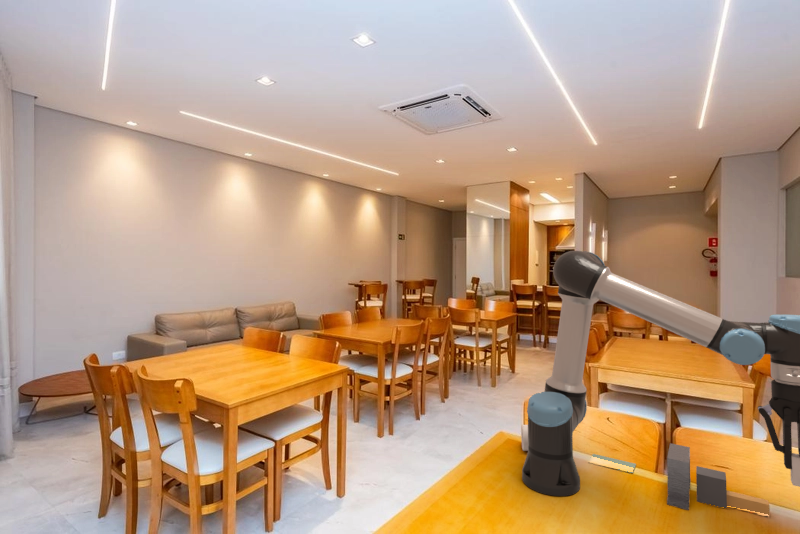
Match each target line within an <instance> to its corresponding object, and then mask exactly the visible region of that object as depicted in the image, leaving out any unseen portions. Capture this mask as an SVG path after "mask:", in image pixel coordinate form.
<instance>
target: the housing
mask: <svg viewBox="0 0 800 534" xmlns="http://www.w3.org/2000/svg"><path fill="white" fill-rule="evenodd" d="M690 449H691V447H690V446H685V445H680V444H677V443H676V444H675V443H671V442H670V443H669V448H668V451H667V458H666V459H667V463H666V464H667V465H666V466H667V473H666V474H667V498H666V505H668V506H672V507H674V508H675V507H676V508H679V509H682V510H686V511H689V510H690V490H691V482H692V481H691V451H690Z"/></svg>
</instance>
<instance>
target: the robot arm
mask: <svg viewBox="0 0 800 534" xmlns="http://www.w3.org/2000/svg"><path fill="white" fill-rule="evenodd" d="M552 269H553V270H552V273H553V277H554V280H555V282H556V284H557V285H558V291H557V294H558V296H559V298H561V308H560V315H559V323H558V331H557V337H556V343H555V344H556V345H555V352H554V358H553V365H552V366H553V367H552V374H551V376H550V377H548V378H547V379H546V380H545V383H544V384H545V385H544V391H542V392H537V393H533V395H531V396H530V398H529V399H528V401H527V408H526V409H527V410H526V412H527V425H528V451H527V453H526V456H525V460H524V463H523V466H522V469H521V477H522V478H521V479H522V482H523V483H524V484H525V485H526V486H527V488H530V489H531V490H533V491H535V492H537V493H539V494H540V493H541V494H543V495H547V496H554V497H566V496H567V497H568V496H571V495H574V494H576V493H578V492H579V491H580V489H581V478H580V475H579V471H578V469H577V465H576V463H575V460H574V454H573V453H574V450H573V449H574V448H573V445H574V444H573V443H574V442H573V439H574V438H573V433H574V431H575V430H576V428H577V427H578V426H579V424H581V422H582V421H583V420H584V418H585V417H586V414H587V411H588V410H587V409H588V407H587V400H586V396H587V392H588V391H587V387H586V385H584V383H583V378H584V371H585V363H586V358H587V357H586V356H587V351H588V350H587V349H588V343H589V335H590V331H591V322H592V317H593V316H592V315H593V308H594V304H596V303H597V302H599V301H602V302H603V303H606V304H609V305H611V306H613V307H616V308H617V309H620V310H622V311H625V312H626V313H628V314H631V315H634V316H635V317H638V318H640V319H642V320H645V321H646V322H649V323H652V324H653V325H656V326H658V327H660V328H662V329H664V330H667V331H668V332H671V333H674V334H676V335H678V336H680V337H683V338H685V339H686V340H689V341H692V342H693V343H696V344H698V345H700V346H702V347H705V348H707V349H709V350H711V351H713V352H715V353H717V354H719V355H722V356H723V357H725V359H726V360H728V361H730V362H731V363H734V364H737V365H740V366H741V365H742V366H749V365H754V364H756V363H758V362H759V361H761V360H762V359H763V357H764V356H765V355H770V377H771V378H772V380H771V381H770V383H771V385H770V386H771V387H770V388H771V398H770V400H769V401H768V404H766V405H763V406H762V405H759V406H758V407H757V410H758V413H759V414H761V416H762V417H763V419H764V421H765V424H766V427H767V431H768V433H769V436H770V439H771V444H772V445H773V448H774V450H776V452H777V451H778V452H780V453H782V454H783V464H784V466H785V469H789V470H790V481H791V484H792V486H795V487H800V314H782V313H781V314H779V313H778V314H777V313H776V314H771V315H770V316H769V317H768V321H765V322H751V321H750V322H748V321H730V320H726V319H725V318H722V317H720V316H717V315H715V314H712V313H710V312H709V311H708V312H707V311H705V310H703V309H700V308H698V307H695V306H693V305H690V304H688V303H685V302H684V301H682V300H681V301H680V300H678V299H676V298H674V297H671V296H668V295H666V294H664V293H662V292H659V291H656V290H654V289H652V288H649V287H647V286H645V285H642V284H640V283H637V282H635V281H632V280H630V279H627V278H625V277H623V276H620V275H618V274H615V273H613V272H612V271H611V269H610V267H609V266H608V265H605V263H604V261H603V260H602V258H600V257H599V255H597V254H595V253H593V252H590V251H587V250H584V251H582V250H570V251H566V252H565V253H562V254H561V255H560V256H559V257H558V258H557V259H556V260H555V262H554V265H553V267H552ZM772 410H773V411H774V412H775V414H776V415H777V416H778V417H779V418H780V419H781V420H782V444H780V440H779V437H778V435H777V432H776V431H777V430H776V429H775V426H774V423H773V420H772V418H771V415H772V414H773V413H772ZM792 423H796V425H797V450H798V451H797V452H798V453H794V452H793V449H792V448H793V445H792V444H793V443H792V442H793V441H792Z"/></svg>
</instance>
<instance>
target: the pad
mask: <svg viewBox="0 0 800 534" xmlns="http://www.w3.org/2000/svg"><path fill="white" fill-rule="evenodd" d="M591 456H593V457H597V458H600V459H604V460H608V461H612V462H614V463H618V464H622V465H626V466H629V467H633V468H635V469H636V466H637V463H634V462H629V461H626V460H620V459H618V458H613V457H608V456H604V455H600V454H597V453H592V454H591ZM618 470H620V469H618ZM618 470H617V471H618ZM627 472H628V471H627ZM630 473H633V474H634V472H630ZM630 473H629V474H630Z"/></svg>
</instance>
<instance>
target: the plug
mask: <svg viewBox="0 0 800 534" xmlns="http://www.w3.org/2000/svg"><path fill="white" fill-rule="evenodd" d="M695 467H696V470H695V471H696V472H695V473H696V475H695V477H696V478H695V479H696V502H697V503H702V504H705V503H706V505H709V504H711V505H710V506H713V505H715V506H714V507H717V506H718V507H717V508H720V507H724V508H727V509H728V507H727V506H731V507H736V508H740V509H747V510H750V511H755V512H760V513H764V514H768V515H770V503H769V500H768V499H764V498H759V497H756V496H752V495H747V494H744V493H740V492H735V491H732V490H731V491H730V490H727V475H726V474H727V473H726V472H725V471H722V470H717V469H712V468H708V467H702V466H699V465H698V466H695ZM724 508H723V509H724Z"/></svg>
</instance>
